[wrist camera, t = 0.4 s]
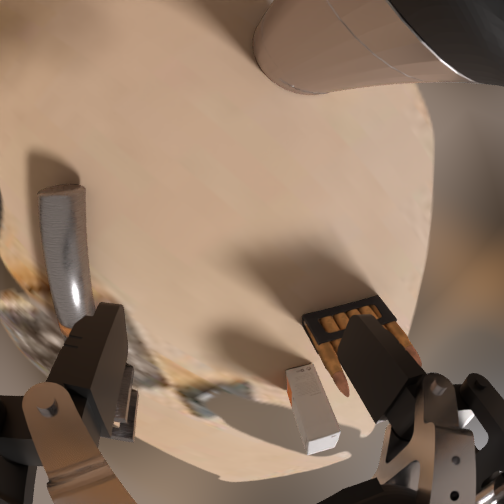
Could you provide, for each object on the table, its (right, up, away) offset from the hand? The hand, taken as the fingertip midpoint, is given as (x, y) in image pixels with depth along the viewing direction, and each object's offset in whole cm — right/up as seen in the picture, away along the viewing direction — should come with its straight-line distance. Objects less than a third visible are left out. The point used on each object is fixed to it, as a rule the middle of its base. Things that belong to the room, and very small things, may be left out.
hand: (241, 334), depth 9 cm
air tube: (-18, 0, +16) cm, 24 cm away
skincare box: (+7, -16, +29) cm, 34 cm away
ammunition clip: (+12, -5, +24) cm, 27 cm away
